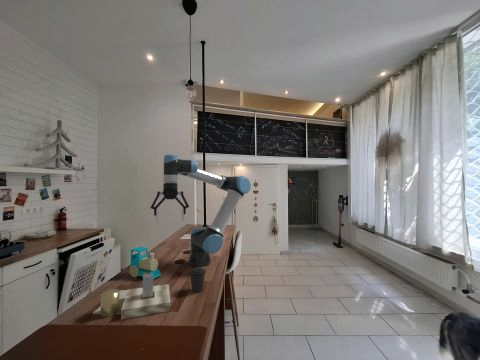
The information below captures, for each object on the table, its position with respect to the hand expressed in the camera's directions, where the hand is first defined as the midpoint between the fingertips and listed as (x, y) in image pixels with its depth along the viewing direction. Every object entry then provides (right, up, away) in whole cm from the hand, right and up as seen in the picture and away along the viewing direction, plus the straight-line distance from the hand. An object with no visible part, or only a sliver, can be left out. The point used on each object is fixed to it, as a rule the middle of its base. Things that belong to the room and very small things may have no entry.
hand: (170, 221), depth 123 cm
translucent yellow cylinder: (-14, -31, -34) cm, 48 cm away
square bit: (-1, -31, -27) cm, 41 cm away
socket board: (-1, -31, -27) cm, 41 cm away
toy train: (-15, -32, +3) cm, 36 cm away
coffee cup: (+18, -32, -14) cm, 39 cm away
